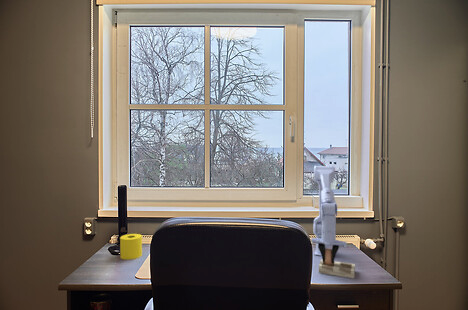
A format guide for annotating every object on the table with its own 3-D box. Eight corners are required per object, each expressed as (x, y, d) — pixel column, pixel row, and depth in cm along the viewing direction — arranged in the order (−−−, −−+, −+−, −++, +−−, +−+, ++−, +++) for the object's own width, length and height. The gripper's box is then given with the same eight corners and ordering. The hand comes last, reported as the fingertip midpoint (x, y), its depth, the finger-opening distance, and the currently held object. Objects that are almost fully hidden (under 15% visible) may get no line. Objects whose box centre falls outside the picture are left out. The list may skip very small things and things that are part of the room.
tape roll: (125, 252, 152) (125, 233, 152) (144, 252, 151) (144, 233, 151) (116, 259, 142) (116, 239, 142) (137, 259, 141) (137, 239, 141)
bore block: (321, 265, 134) (321, 259, 134) (354, 270, 129) (354, 264, 129) (318, 272, 127) (318, 265, 127) (354, 278, 121) (354, 271, 121)
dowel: (325, 263, 131) (325, 248, 131) (332, 265, 130) (332, 249, 130) (324, 266, 128) (324, 250, 128) (331, 267, 127) (331, 251, 127)
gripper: (309, 230, 128) (309, 262, 128) (346, 234, 122) (345, 267, 122) (312, 226, 134) (312, 256, 135) (347, 230, 129) (346, 261, 129)
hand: (328, 261), depth 129 cm, fingers closed on dowel, 3 cm apart
